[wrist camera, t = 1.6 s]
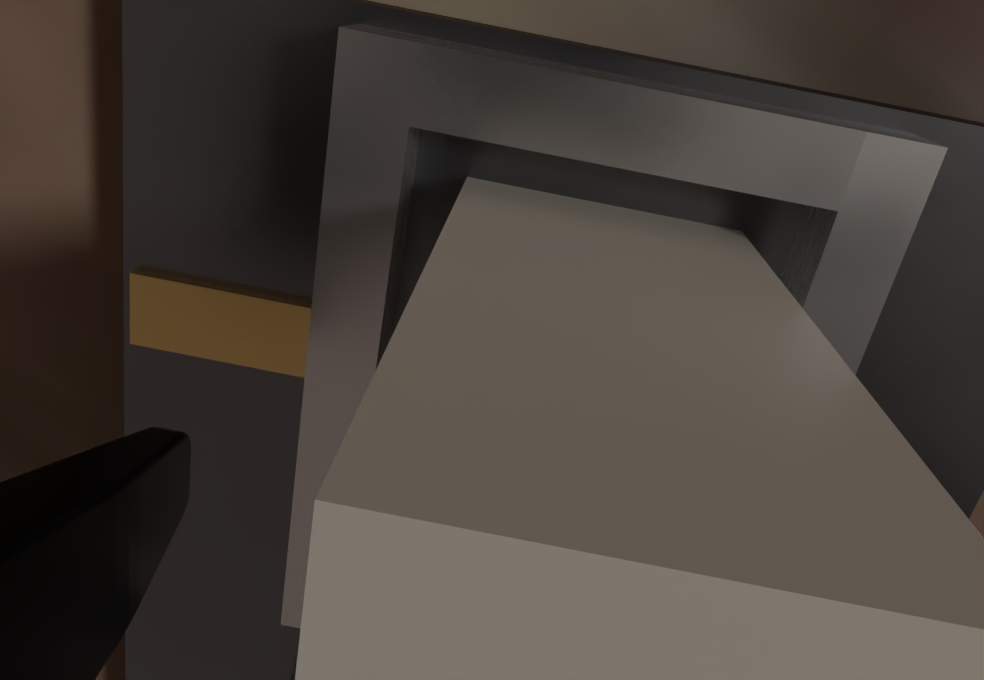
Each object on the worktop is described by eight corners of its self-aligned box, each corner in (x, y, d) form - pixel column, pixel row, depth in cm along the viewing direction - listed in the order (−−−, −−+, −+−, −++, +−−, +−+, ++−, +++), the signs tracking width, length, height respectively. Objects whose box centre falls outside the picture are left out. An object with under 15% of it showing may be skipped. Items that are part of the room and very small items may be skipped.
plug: (741, 231, 12) (1253, 877, 3) (636, 561, 14) (762, 1432, 6) (466, 176, 12) (229, 680, 3) (409, 517, 14) (185, 1324, 5)
